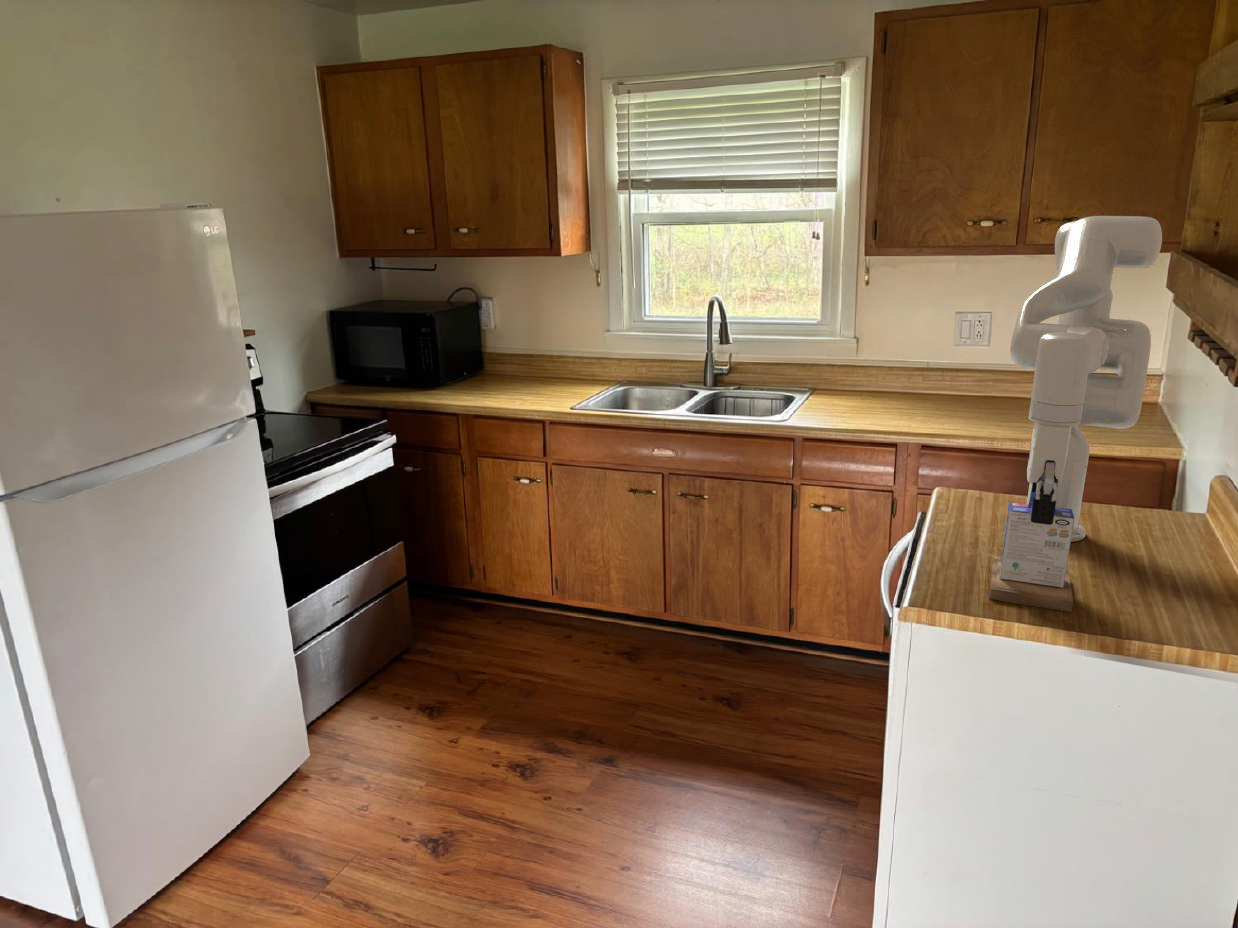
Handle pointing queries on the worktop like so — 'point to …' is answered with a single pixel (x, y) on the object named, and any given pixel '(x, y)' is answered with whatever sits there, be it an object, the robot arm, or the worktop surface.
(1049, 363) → the robot arm
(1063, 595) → the board
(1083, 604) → the worktop surface
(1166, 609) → the worktop surface
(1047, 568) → the ink cartridge box
